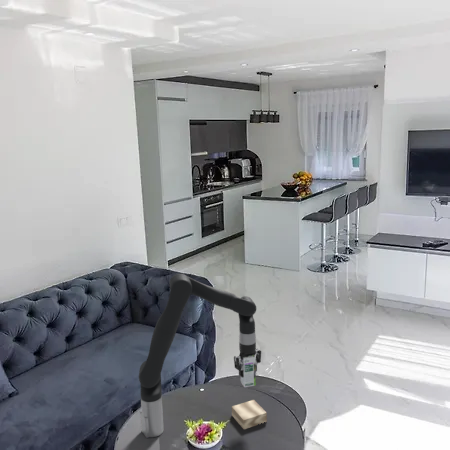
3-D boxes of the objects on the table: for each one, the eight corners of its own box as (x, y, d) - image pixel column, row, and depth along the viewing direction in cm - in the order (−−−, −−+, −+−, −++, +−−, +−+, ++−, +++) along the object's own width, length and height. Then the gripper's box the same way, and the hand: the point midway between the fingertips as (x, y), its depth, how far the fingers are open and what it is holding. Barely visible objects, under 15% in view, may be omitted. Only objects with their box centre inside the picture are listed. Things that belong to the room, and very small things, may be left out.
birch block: (243, 430, 208) (243, 420, 207) (231, 416, 218) (231, 406, 217) (266, 422, 213) (266, 412, 212) (253, 408, 223) (253, 399, 222)
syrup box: (244, 387, 208) (243, 358, 205) (240, 381, 214) (239, 352, 211) (256, 385, 210) (255, 356, 207) (251, 379, 215) (251, 350, 212)
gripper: (238, 347, 201) (239, 382, 204) (265, 339, 208) (265, 373, 212) (229, 341, 207) (230, 375, 210) (255, 333, 214) (255, 366, 218)
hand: (248, 374), depth 211 cm, fingers closed on syrup box, 6 cm apart
